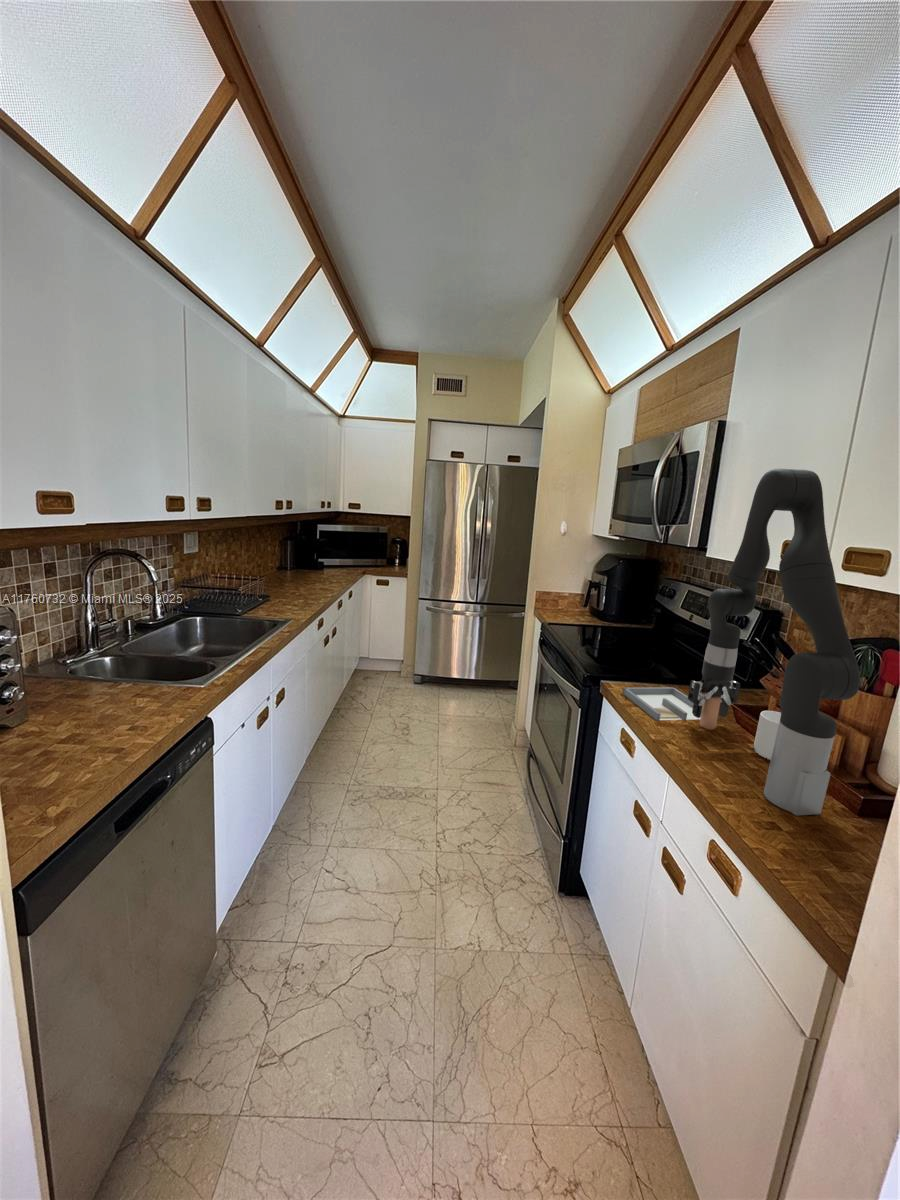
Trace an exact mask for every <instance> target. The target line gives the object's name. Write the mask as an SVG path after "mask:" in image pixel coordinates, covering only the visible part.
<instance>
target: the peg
mask: <svg viewBox="0 0 900 1200" xmlns="http://www.w3.org/2000/svg"><path fill="white" fill-rule="evenodd" d="M704 695H706V694H705V693H704ZM720 702H722V701H721V697H717V696H715V697H710V698H709V699H708V700H706V701H705V702H704V703H703V704H702V706H703V708H702V713H701V718H700V719H699V726H700V727H701V728H704V729H707V730H716V729H717V728H716V727H717V721H718V717H719V715H718V712H719V707H720Z"/></svg>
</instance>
